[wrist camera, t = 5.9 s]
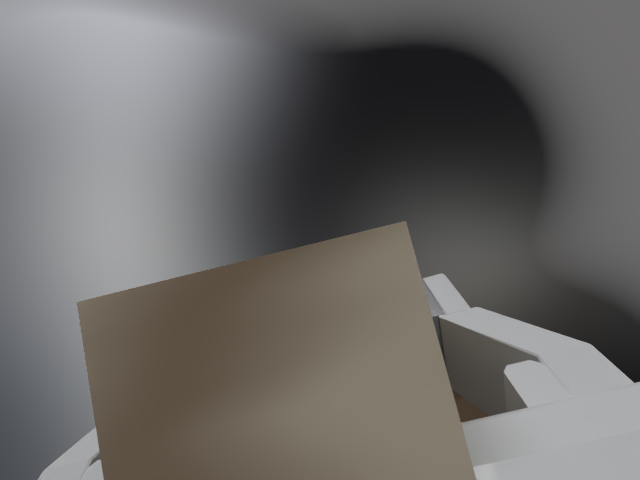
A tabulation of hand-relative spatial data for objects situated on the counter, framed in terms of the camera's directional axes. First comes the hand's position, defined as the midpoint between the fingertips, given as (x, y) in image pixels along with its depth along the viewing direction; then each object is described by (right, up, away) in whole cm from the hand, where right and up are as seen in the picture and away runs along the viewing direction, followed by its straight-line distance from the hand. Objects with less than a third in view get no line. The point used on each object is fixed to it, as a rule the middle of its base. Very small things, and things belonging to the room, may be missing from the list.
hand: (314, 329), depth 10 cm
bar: (+1, -3, +3) cm, 4 cm away
